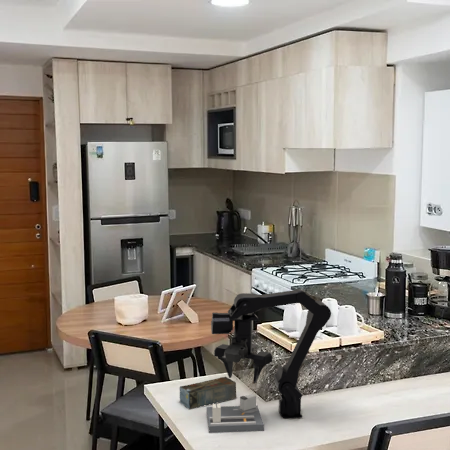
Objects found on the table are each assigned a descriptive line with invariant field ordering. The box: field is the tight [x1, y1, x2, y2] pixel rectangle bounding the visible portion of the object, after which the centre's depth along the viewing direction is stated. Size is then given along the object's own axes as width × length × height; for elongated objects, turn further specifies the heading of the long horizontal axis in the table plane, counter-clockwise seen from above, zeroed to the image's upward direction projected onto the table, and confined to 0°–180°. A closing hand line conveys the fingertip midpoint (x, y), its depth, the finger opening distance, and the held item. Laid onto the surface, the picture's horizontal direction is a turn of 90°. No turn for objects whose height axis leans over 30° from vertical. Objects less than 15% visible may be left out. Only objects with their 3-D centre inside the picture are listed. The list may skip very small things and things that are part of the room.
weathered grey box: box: [179, 376, 237, 410], centre depth 218 cm, size 8×19×7 cm, turn 120°
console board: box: [206, 404, 265, 434], centre depth 200 cm, size 17×15×3 cm
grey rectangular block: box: [239, 393, 257, 411], centre depth 205 cm, size 5×2×4 cm, turn 125°
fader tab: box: [211, 403, 222, 423], centre depth 195 cm, size 2×3×5 cm
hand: (242, 380), depth 203 cm, fingers open, 9 cm apart
